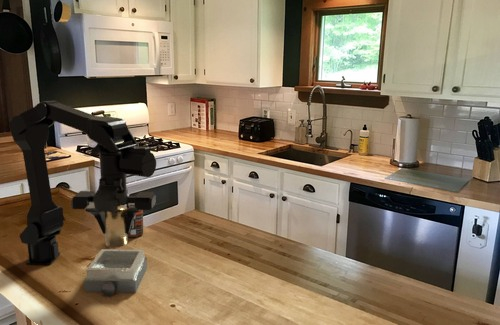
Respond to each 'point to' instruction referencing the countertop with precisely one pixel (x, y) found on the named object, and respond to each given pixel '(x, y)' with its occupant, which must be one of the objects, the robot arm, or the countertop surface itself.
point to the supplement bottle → (136, 224)
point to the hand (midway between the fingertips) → (116, 233)
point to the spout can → (116, 227)
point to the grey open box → (115, 271)
